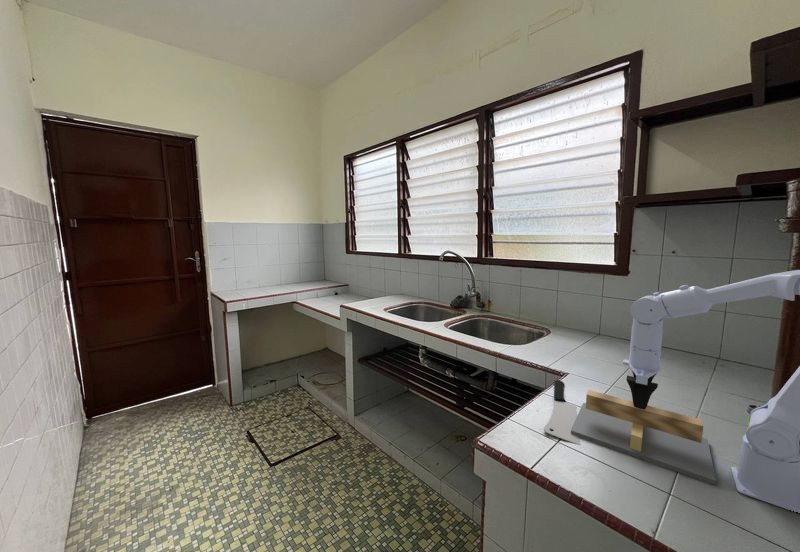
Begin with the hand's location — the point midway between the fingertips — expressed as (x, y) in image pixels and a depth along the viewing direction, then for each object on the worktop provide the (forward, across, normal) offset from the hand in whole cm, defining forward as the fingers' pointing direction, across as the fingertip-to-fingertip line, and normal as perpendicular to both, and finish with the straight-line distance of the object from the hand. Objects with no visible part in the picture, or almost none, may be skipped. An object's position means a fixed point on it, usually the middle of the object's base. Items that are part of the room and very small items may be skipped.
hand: (640, 400), depth 75 cm
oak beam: (+5, 0, 0) cm, 5 cm away
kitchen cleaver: (+11, -4, -16) cm, 20 cm away
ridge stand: (+10, 0, 0) cm, 10 cm away
